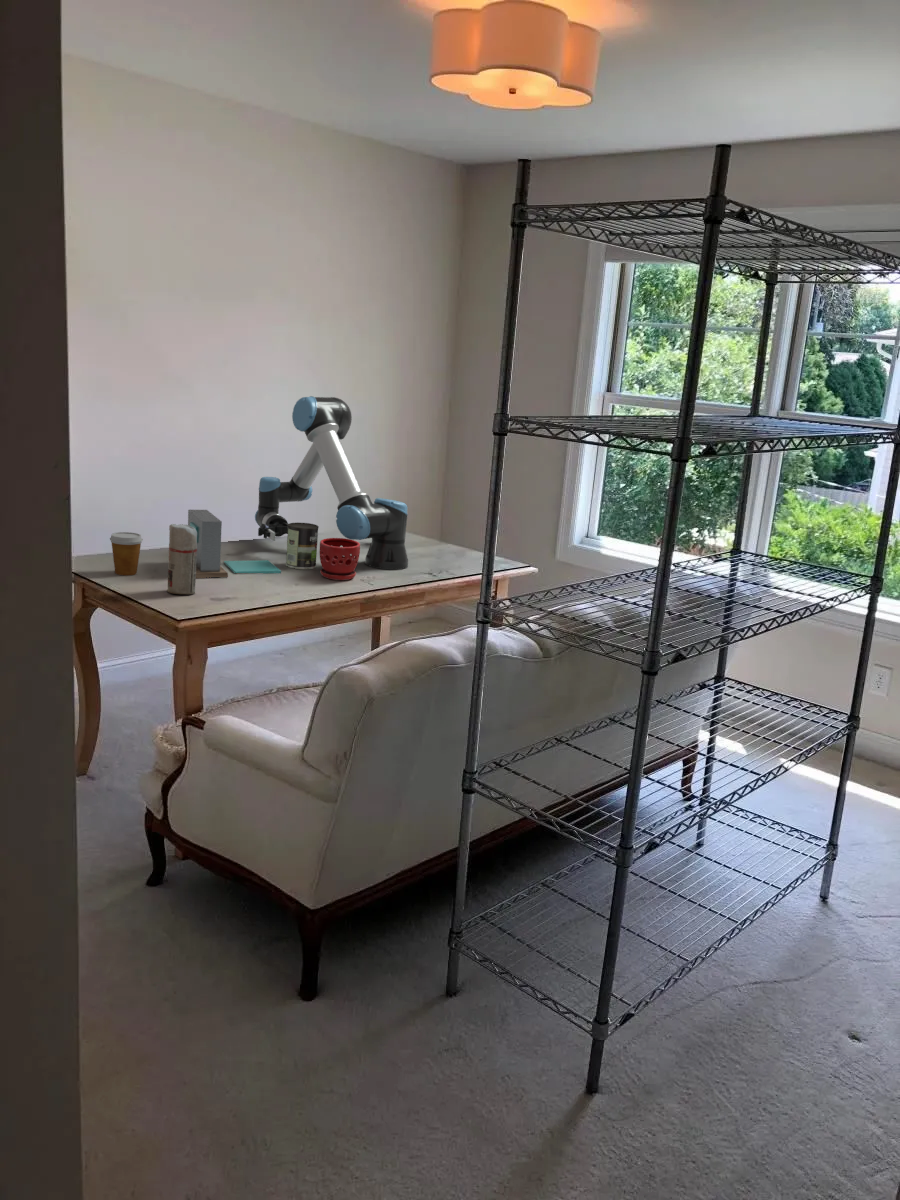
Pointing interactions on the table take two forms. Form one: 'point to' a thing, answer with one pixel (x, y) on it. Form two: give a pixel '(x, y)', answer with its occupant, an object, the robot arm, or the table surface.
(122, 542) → the disposable coffee cup
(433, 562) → the table surface
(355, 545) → the plant pot
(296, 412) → the robot arm
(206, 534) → the mounted unit
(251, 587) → the table surface
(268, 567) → the pad
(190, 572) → the spray can
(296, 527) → the coffee can
